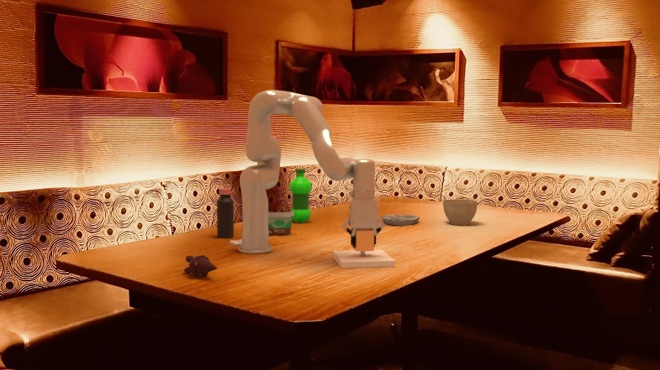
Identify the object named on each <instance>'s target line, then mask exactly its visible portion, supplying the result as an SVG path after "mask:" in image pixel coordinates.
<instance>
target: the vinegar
mask: <svg viewBox="0 0 660 370" xmlns="http://www.w3.org/2000/svg"><path fill="white" fill-rule="evenodd" d="M218 194H219V198H218V199H217V200H216V236H217V238H219V239H232V238H234V236H235V228H234V227H235V221H234V220H235V219H234V218H235V215H234V214H235V211H234V210H235V209H234V208H235V207H234V206H235V205H234V204H235V203H234V202H235V201H234V200H233V198H231V196H232V188H229V187H228V188H227V187H226V188H225V187H223V188H222V187H221V188H218ZM231 237H232V238H231Z"/></svg>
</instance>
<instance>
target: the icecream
mask: <svg viewBox="0 0 660 370" xmlns="http://www.w3.org/2000/svg"><path fill="white" fill-rule="evenodd" d="M185 261H186V262H187V263H188V266H187V267H185V268H184V270H183V272H184V273H185V274H188V275H189V274H192V275H193V276H196V277H199V278H203V277H204V278H205V277H206V276H207V275H209V273H211V272H213V271H215V270H217V269H218V267H217V265H215V264H213V263H212V262H211V261H210V258H209V257H207V256H205V255H204V254H201V255H196V256H194V255H186V257H185Z"/></svg>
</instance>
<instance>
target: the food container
mask: <svg viewBox="0 0 660 370" xmlns="http://www.w3.org/2000/svg"><path fill="white" fill-rule="evenodd" d="M292 216H294V212H293V210H292V211H291V210H290V211H285V212H284V211H276V212H273V211H268V235H269V234H270V236H273V235H277V236H276V237H284V236H285V235H286V236H290V235H291V234H292V233H291V231H292V225H293V224H292V223H293V219H292Z"/></svg>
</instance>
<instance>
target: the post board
mask: <svg viewBox="0 0 660 370" xmlns="http://www.w3.org/2000/svg"><path fill="white" fill-rule="evenodd" d="M332 258H333V259H334V260H335V261H336V262H337V264H338V266H340V268H341V269H355V268H360V269H361V268H386V267H387V268H390V267H391V268H392V267H396V266H395V262H396V261H395V260H394V258H392V257H391V256H390V255H389V254H387V253H386V252H385V251H384V250H383V249H374V251H356V250H355V249H354V250H353V249H349V250H332Z"/></svg>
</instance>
